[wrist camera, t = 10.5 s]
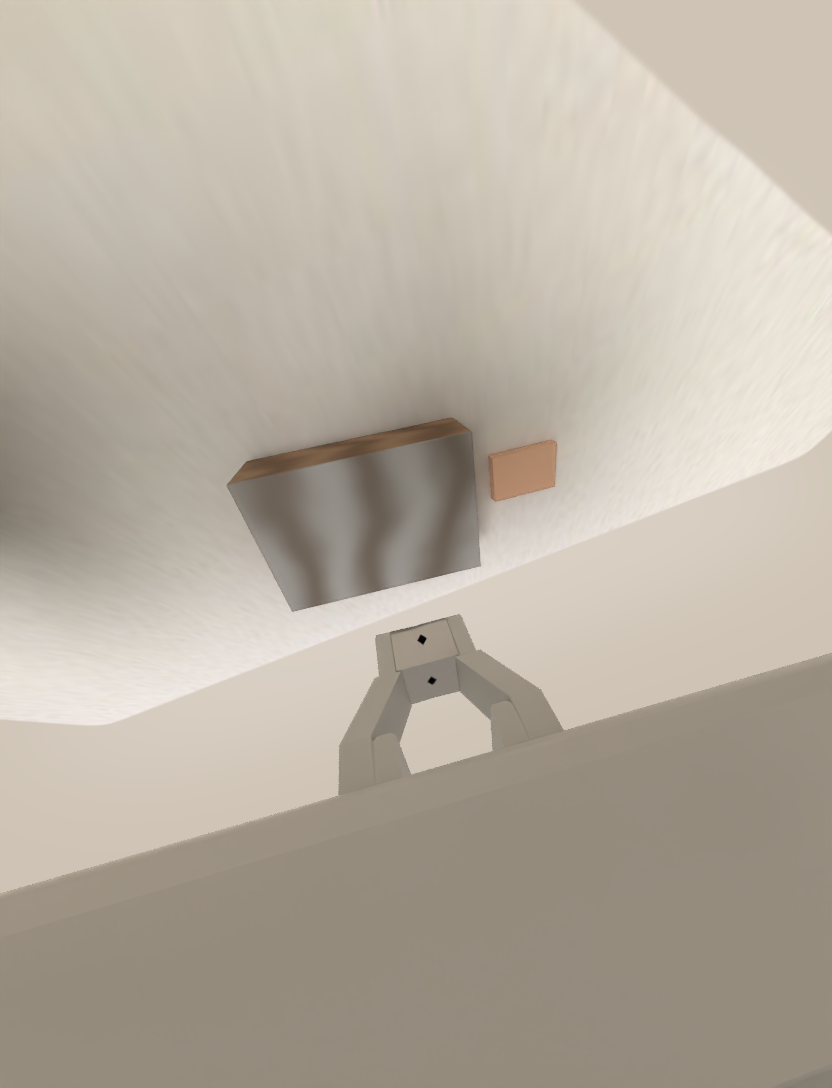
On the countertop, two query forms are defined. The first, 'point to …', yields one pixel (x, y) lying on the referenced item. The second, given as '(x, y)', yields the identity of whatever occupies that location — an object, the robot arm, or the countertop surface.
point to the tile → (522, 470)
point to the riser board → (364, 512)
